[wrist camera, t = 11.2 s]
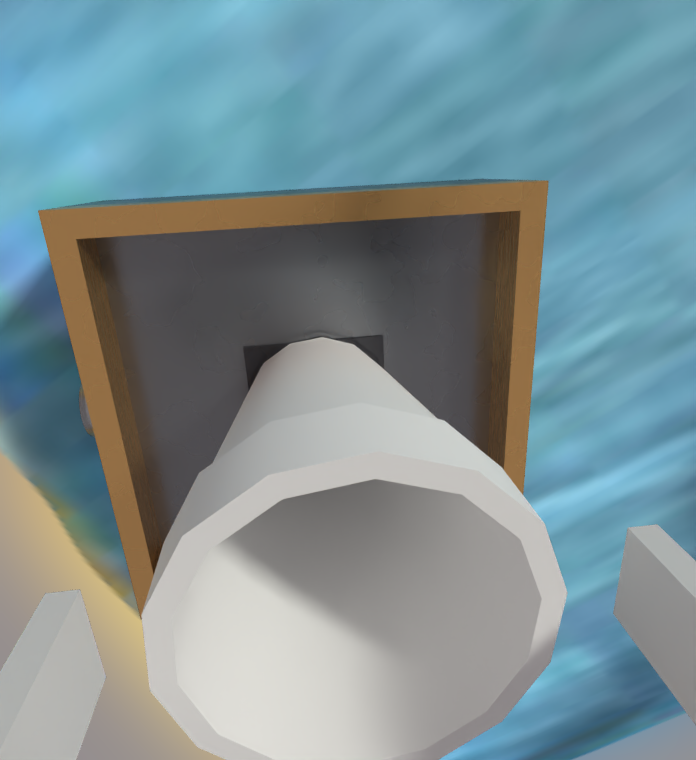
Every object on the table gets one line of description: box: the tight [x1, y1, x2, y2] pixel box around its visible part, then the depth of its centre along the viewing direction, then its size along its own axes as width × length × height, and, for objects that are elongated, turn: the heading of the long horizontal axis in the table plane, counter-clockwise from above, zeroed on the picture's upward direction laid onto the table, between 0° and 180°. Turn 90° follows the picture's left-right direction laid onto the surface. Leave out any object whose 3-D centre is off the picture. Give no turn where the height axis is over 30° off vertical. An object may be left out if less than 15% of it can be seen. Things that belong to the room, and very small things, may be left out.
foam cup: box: [141, 337, 567, 760], centre depth 18 cm, size 10×9×13 cm
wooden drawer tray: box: [38, 179, 548, 619], centre depth 25 cm, size 20×18×7 cm
